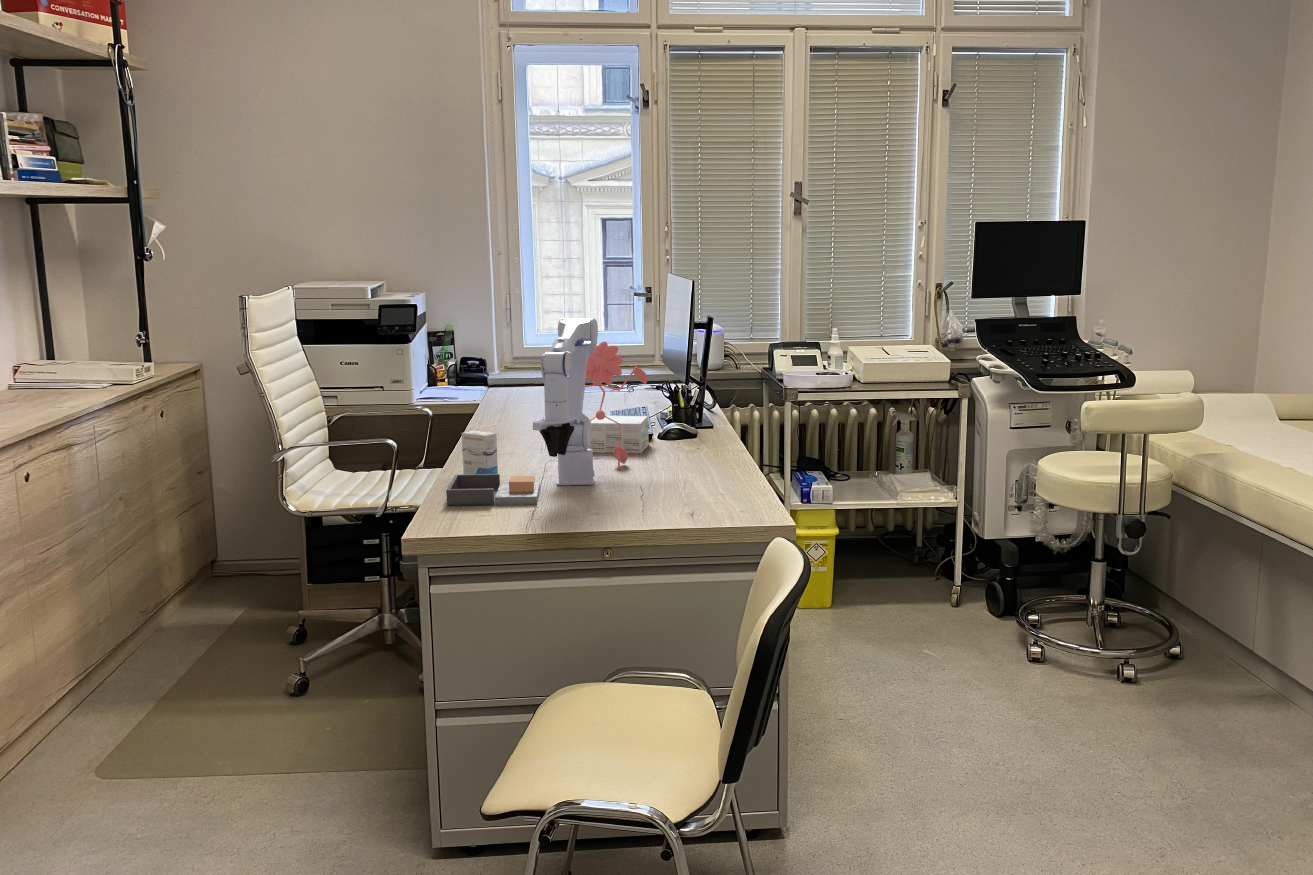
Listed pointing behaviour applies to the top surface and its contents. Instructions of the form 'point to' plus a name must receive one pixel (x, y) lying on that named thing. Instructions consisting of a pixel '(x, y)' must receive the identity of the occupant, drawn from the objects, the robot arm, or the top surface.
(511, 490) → the tile
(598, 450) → the supplement box
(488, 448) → the ink box
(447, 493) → the box
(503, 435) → the top surface
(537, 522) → the top surface
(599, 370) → the figurine
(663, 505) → the top surface
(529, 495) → the grey flat board
